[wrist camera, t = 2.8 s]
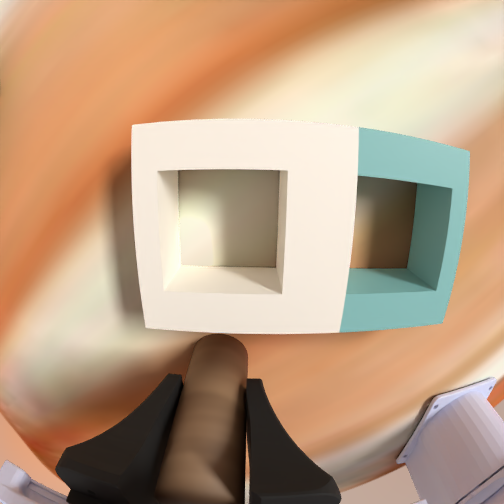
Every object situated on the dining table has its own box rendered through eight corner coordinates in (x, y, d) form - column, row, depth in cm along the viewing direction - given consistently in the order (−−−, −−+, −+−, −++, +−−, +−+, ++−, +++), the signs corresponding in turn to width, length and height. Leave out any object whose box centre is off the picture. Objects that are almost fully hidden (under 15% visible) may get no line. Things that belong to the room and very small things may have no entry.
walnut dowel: (247, 377, 16) (244, 519, 7) (195, 374, 15) (164, 511, 7) (248, 334, 15) (244, 492, 6) (191, 332, 15) (144, 480, 6)
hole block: (414, 297, 14) (442, 323, 11) (164, 297, 14) (145, 328, 11) (433, 151, 12) (469, 151, 9) (157, 133, 12) (132, 125, 9)
